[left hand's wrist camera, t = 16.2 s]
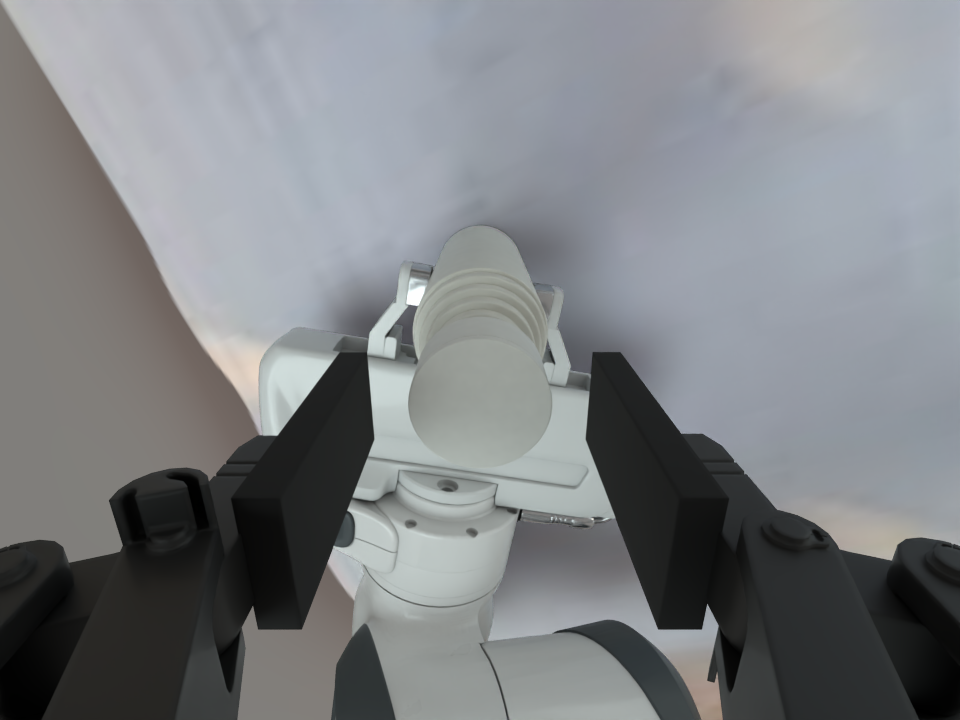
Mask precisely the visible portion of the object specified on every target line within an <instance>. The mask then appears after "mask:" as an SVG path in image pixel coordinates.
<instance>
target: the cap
mask: <svg viewBox="0 0 960 720" xmlns="http://www.w3.org/2000/svg"><path fill="white" fill-rule="evenodd" d="M408 409H409V415H410V420H411V423H412V425H413V428H414V430H415V432H416V433H417V435H418V437H419V438H420V439H421V441H422V442H423V443H424V444H425V445H426V447H427V448H428V449H429V450H431V451H432V452H433V453H434V454H436V455H437V456H439V457H440V458H442V459H444V460H446V461H448V462H450V463H453V464H456V465H459V466H463V467H468V468H492V467H497V466H501V465H505V464H508V463H510V462H513V461H515V460H517V459H518V458H520V457H522V456H523V455H525V454H526V453H528V452H529V451H530V450H531V449H532V448H533V447H534V446H535V445H536V444H537V443H538V442H539V440H540V439H541V437H542V436H543V435H544V433H545V431H546V429H547V427H548V424H549V421H550V418H551V413H552V393H551V389H550V385H549V382H548V378H547V375H546V372H545V369H544V366H543V362H542V359H541V356H540V354H539V352H538V350H537V348H536V346H535V345H534V343H533V342H532V341H531V339H530V338H529V337H528V336H527V335H526V334H525V333H524V332H523V331H521V330H520V329H519V328H517V327H516V326H514V325H512V324H510V323H508V322H505V321H503V320H500V319H496V318H491V317H470V318H464V319H461V320H457V321H455V322H453V323H450V324H448V325H447V326H445V327H443V328H442V329H441V330H439V331H438V332H437V333H436V334H435V335H434V336H433V337H432V338H431V339H430V340H429V341H428V343H427V344H426V345H425V347H424V349H423V351H422V353H421V355H420V358H419V361H418V364H417V367H416V371H415V374H414V377H413V380H412V383H411V387H410V391H409V398H408Z"/></svg>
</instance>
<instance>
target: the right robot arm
mask: <svg viewBox="0 0 960 720" xmlns="http://www.w3.org/2000/svg"><path fill="white" fill-rule="evenodd" d="M432 272H433V266H431V265H426V264H420V263H415V262H410V261H404V262H403V263H402V264H401V268H400V272H399V279H398V288H397V296H396V298H395V299H394V300H393V301H392V303H391V304H390V305H389V306H388V308H387V309H386V310H385V312H384V313H383V314H382V315H381V317H380V318H379V319H378V321H377V322H376V324H375V325H374V327H373V328H372V330H371V331H370V333H369V338H365V337H359V336H353V335H346V334H340V333H334V332H328V331H321V330H315V329H309V328H302V327H297V328H293V329H292V330H290V331H289V332H287V333H286V334H285V335H283V336H282V337H281V338H279V339H278V340H277V341H276V342H275V343H274V344H273V345H272V346H271V347H270V348H269V349H268V350H267V351H266V352H265V354H264V355H263V357H262V359H261V362H260V367H259V405H260V418H261V427H262V435H278V434H279V433H280V432H281V430H282V429H283V428H284V426H285V425H286V424H287V422H288V421H289V419H290V418H291V417H292V415H293V414H294V413H295V411H296V410H297V409H298V407H299V406H300V405H301V403H302V402H303V401H304V399H305V398H306V397H307V395H308V394H309V393H310V391H311V390H312V389H313V387H314V386H315V385H316V383H317V382H318V381H319V379H320V378H321V377H322V375H323V374H324V373H325V371H326V370H327V369H328V367H329V366H330V365H331V363H332V362H333V360H334V359H335V358H336V356H337V355H338V354H339V352H367V356H368V368H369V379H370V391H371V403H372V415H373V427H374V439H375V440H374V442H373V445H372V447H371V450H370V453H369V455H368V458H367V460H366V463H365V466H364V468H363V471H362V473H361V476H360V479H359V481H358V484H357V487H356V489H355V492H354V494H353V497H352V500H351V502H350V505H349V507H348V510H347V513H346V515H345V518H344V520H343V523H342V526H341V528H340V531H339V534H338V536H337V539H336V541H335V544H334V547H333V549H336V550H338V551H340V552H342V553H344V554H346V555H348V556H350V557H351V558H353V559H355V560H357V561H358V562H360V563H361V564H362V568H363V572H364V576H363V578H362V580H361V582H360V584H359V586H358V589H357V593H356V596H355V603H354V613H353V626H352V638H351V640H350V641H349V643H348V645H347V647H346V648H345V650H344V652H343V654H342V656H341V658H340V659H339V661H338V663H337V666H336V677H335V691H334V700H333V708H332V717H331V720H701V718H700V715H699V712H698V710H697V707H696V705H695V703H694V700H693V698H692V696H691V694H690V692H689V690H688V688H687V686H686V684H685V682H684V681H683V679H682V677H681V676H680V674H679V673H678V671H677V670H676V668H675V667H674V666H673V665H672V663H671V662H670V661H669V660H668V659H667V658H666V656H665V655H664V654H663V653H662V652H661V651H660V650H659V649H657V648H656V647H655V646H654V645H653V644H652V643H651V642H649V641H648V640H647V639H646V638H645V637H643V636H642V635H641V634H639V633H638V632H637V631H635V630H634V629H633V628H631V627H629V626H628V625H626V624H624V623H621V622H619V621H615V620H603V621H599V622H594V623H590V624H586V625H581V626H577V627H572V628H568V629H564V630H559V631H556V632H554V633H552V634H545V635H537V636H528V637H520V638H512V639H503V640H495V641H488V638H489V635H490V631H491V627H492V622H493V614H494V605H493V594H494V593H495V591H496V590H497V588H498V586H499V585H500V583H501V581H502V578H503V576H504V573H505V569H506V564H507V560H508V556H509V552H510V548H511V544H512V540H513V536H514V532H515V527H516V523H517V522H518V520H519V521H526V522H533V523H540V524H559V525H562V524H563V525H566V526H569V527H571V528H576V529H592V528H593V526H594V524H600V523H604V522H607V521H610V520H611V519H615V515H614V513H613V510H612V507H611V505H610V502H609V500H608V497H607V494H606V492H605V489H604V487H603V484H602V481H601V479H600V476H599V473H598V471H597V468H596V466H595V463H594V460H593V458H592V455H591V453H590V450H589V447H588V445H587V442H586V440H585V439H586V427H587V415H588V403H589V391H590V379H591V374H590V373H583V372H577V371H571V370H570V367H571V365H570V361H569V358H568V355H567V352H566V349H565V346H564V343H563V340H562V337H561V334H560V331H559V328H558V322H559V318H560V313H561V309H562V305H563V300H564V292H563V290H562V289H561V287H556V286H551V285H544V284H538V283H533V286H534V288H535V290H536V293H537V295H538V297H539V300H540V302H541V304H542V307H543V309H544V311H545V315H546V319H547V325H548V339H547V340H548V343H549V346H550V351H549V350H548V349H545V353H544V356H543V359H542V362H543V366H544V369H545V372H546V375H547V378H548V382H549V385H550V389H551V393H552V413H551V418H550V421H549V424H548V427H547V429H546V431H545V433H544V435H543V436H542V437H541V439H540V440H539V442H538V443H537V444H536V445H535V446H534V447H533V448H532V449H531V450H530V451H529V452H528V453H526V454H525V455H523V456H522V457H520V458H518V459H517V460H515V461H513V462H510V463H508V464H505V465H501V466H497V467H492V468H468V467H463V466H459V465H456V464H453V463H450V462H448V461H446V460H444V459H442V458H440V457H439V456H437V455H436V454H434V453H433V452H432V451H431V450H429V449H428V448H427V447H426V445H425V444H424V443H423V442H422V441H421V439H420V438H419V437H418V435H417V433H416V432H415V430H414V428H413V425H412V423H411V420H410V415H409V409H408V398H409V391H410V387H411V383H412V380H413V377H414V374H415V371H416V367H417V364H418V358H417V355H416V351H415V347H414V345H409V344H403V343H401V340H402V331H403V327H402V326H401V325H397V324H395V323H396V321H397V320H398V319H399V317H400V316H401V315H402V314H403V312H404V311H405V310H406V309H407V307H408V306H409V305H414V306H418V305H419V303H420V300H421V298H422V296H423V293H424V291H425V289H426V286H427V284H428V282H429V279H430V277H431V275H432Z"/></svg>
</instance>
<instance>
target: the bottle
mask: <svg viewBox="0 0 960 720" xmlns="http://www.w3.org/2000/svg"><path fill="white" fill-rule="evenodd" d="M470 317H491V318H496V319H500V320H503V321H505V322H508V323H510V324H512V325H514V326H516V327H517V328H519V329H520V330H521V331H523V332H524V333H525V334H526V335H527V336H528V337H529V338H530V339H531V341H532V342H533V343H534V345H535V346H536V348H537V350H538V352H539V354H540V356H541V359H543V356H544V353H545V348H546V345H547V339H548V325H547V319H546V315H545V311H544V309H543V307H542V304H541V302H540V300H539V297H538V295H537V293H536V290H535V288H534V286H533V283H532V281H531V279H530V276H529V274H528V272H527V269H526V267H525V265H524V262H523V260H522V258H521V255H520V253H519V251H518V248H517V247H516V245H515V243H514V242H513V241H512V239H511V238H510V237H509V236H507V235H506V234H505V233H504V232H502V231H500V230H498V229H496V228H493V227H490V226H483V225H476V226H470V227H467V228H464V229H462V230H460V231H459V232H457V233H455V234H454V235H453V236H452V237H451V238H450V239H449V240H448V241H447V243H446V244H445V245H444V247H443V249H442V252H441V254H440V256H439V258H438V261H437V263H436V265H435V268H434V270H433V272H432V275H431V277H430V279H429V282H428V284H427V286H426V289H425V291H424V293H423V296H422V298H421V300H420V303H419V305H418V307H417V310H416V313H415V317H414V321H413V342H414V347H415V351H416V355H417V358H418V361H419V358H420V355H421V353H422V351H423V349H424V347H425V345H426V344H427V343H428V341H429V340H430V339H431V338H432V337H433V336H434V335H435V334H436V333H437V332H438V331H439V330H441V329H442V328H443V327H445V326H447V325H448V324H450V323H453V322H455V321H457V320H461V319H464V318H470Z"/></svg>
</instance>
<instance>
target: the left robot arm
mask: <svg viewBox="0 0 960 720" xmlns="http://www.w3.org/2000/svg"><path fill="white" fill-rule="evenodd" d="M374 440H375V439H374V427H373V415H372V403H371V391H370V379H369V368H368V356H367V352H339V354H338V355H337V356H336V358H335V359H334V360H333V362H332V363H331V365H330V366H329V367H328V369H327V370H326V371H325V373H324V374H323V375H322V377H321V378H320V379H319V381H318V382H317V383H316V385H315V386H314V387H313V389H312V390H311V391H310V393H309V394H308V395H307V397H306V398H305V399H304V401H303V402H302V403H301V405H300V406H299V407H298V409H297V410H296V411H295V413H294V414H293V415H292V417H291V418H290V419H289V421H288V422H287V424H286V425H285V426H284V428H283V429H282V430H281V432H280V433H279V434H278V435H258V436H256V437H255V438H253V439H251V440H250V441H248V442H247V443H245V444H243V445H242V446H240V447H239V448H238V449H237V450H236V451H235V452H234V453H233V454H232V456H231V457H230V458H229V459H228V460H227V462H226V464H224V465H223V466H222V467H221V469H220V470H219V471H218V472H217V473H216V476H214V477H213V478H212V479H211V480H210V481H208V476H207V475H206V474H204V473H203V472H202V471H200V470H196V469H191V468H174V469H167V470H163V471H158V472H154V473H151V474H148V475H146V476H143V477H141V478H138V479H136V480H133V481H132V482H130V483H129V484H127V485H125V486H124V487H122V488H121V489H119V490H118V491H117V492H116V493H115V494H114V495H113V496H112V498H111V499H110V500H109V502H110V505H111V509H112V512H113V515H114V518H115V521H116V525H117V528H118V531H119V534H120V537H121V541H122V544H123V547H122V549H121V551H120V552H118V553H114V554H110V555H105V556H100V557H95V558H90V559H86V560H81V561H76V562H71V563H69V562H68V559H67V557H66V554H65V551H64V548H63V547H62V546H61V545H59V544H58V543H56V542H55V541H46V540H36V541H29V542H23V543H18V544H14V545H10V546H9V547H4V548H2V549H0V720H237V717H238V708H239V699H240V691H241V682H242V673H243V665H244V656H245V642H244V636H243V632H242V626H243V624H244V622H245V620H246V618H247V616H248V614H249V612H250V610H251V608H252V606H253V607H254V612H255V617H256V621H257V626H258V629H302V627H303V625H304V622H305V620H306V617H307V614H308V612H309V609H310V607H311V604H312V601H313V599H314V596H315V594H316V591H317V588H318V586H319V583H320V580H321V578H322V575H323V573H324V570H325V567H326V565H327V562H328V560H329V557H330V554H331V552H332V549H333V547H334V544H335V541H336V539H337V536H338V534H339V531H340V528H341V526H342V523H343V520H344V518H345V515H346V513H347V510H348V507H349V505H350V502H351V500H352V497H353V494H354V492H355V489H356V487H357V484H358V481H359V479H360V476H361V473H362V471H363V468H364V466H365V463H366V460H367V458H368V455H369V453H370V450H371V447H372V445H373V442H374ZM585 440H586V442H587V445H588V447H589V450H590V453H591V455H592V458H593V460H594V463H595V466H596V468H597V471H598V473H599V476H600V479H601V481H602V484H603V487H604V489H605V492H606V494H607V497H608V500H609V502H610V505H611V507H612V510H613V513H614V515H615V518H616V520H617V523H618V526H619V528H620V531H621V534H622V536H623V539H624V541H625V544H626V547H627V549H628V552H629V554H630V557H631V560H632V562H633V565H634V567H635V570H636V573H637V575H638V578H639V581H640V583H641V586H642V588H643V591H644V594H645V596H646V599H647V601H648V604H649V607H650V609H651V612H652V614H653V617H654V620H655V622H656V625H657V627H658V629H702V626H703V621H704V617H705V612H706V607H707V604H708V606H709V607H710V609H711V611H712V613H713V615H714V617H715V619H716V621H717V623H718V625H719V627H718V632H717V636H716V641H715V645H714V650H713V654H712V659H711V663H710V667H709V673H708V679H707V681H710V682H715V678H716V674H717V672H718V681H719V690H720V698H721V707H722V715H723V720H960V546H958V545H955V544H954V545H953V544H951V543H949V542H945V541H940V540H934V539H927V538H911V539H905V540H904V541H902V542H901V543H900V544H898V546H897V548H896V551H895V554H894V557H893V559H892V561H890V560H886V559H881V558H876V557H871V556H866V555H861V554H857V553H852V552H847V551H843V550H840V549H839V548H838V546H837V544H836V543H835V542H834V540H833V539H832V538H831V536H830V535H829V534H828V533H827V532H826V531H824V530H823V529H821V528H820V527H819V526H817V525H816V524H815V523H813V522H811V521H808V520H806V519H804V518H802V517H800V516H798V515H795V514H791V513H787V512H784V511H780V510H777V509H776V508H775V507H774V506H773V505H772V504H771V502H770V501H769V500H768V499H767V498H766V497H765V495H764V494H763V493H762V492H761V491H760V490H759V488H758V487H757V486H756V485H755V484H754V483H753V481H752V480H751V479H750V478H749V477H748V476H747V475H744V471H743V470H742V469H741V467H740V466H739V465H738V464H737V463H734V459H733V458H732V457H731V456H730V455H729V453H728V452H727V451H726V450H725V449H724V448H723V446H721V445H720V444H718V443H716V442H715V441H713V440H712V439H710V438H708V437H707V436H705V435H703V434H681V433H680V432H679V430H678V429H677V428H676V426H675V425H674V424H673V422H672V421H671V419H670V418H669V417H668V415H667V414H666V413H665V411H664V410H663V409H662V407H661V406H660V405H659V403H658V402H657V401H656V399H655V398H654V397H653V395H652V394H651V393H650V391H649V390H648V389H647V387H646V386H645V385H644V383H643V382H642V381H641V379H640V378H639V377H638V375H637V374H636V373H635V371H634V370H633V369H632V367H631V366H630V365H629V363H628V362H627V360H626V359H625V358H624V356H623V355H622V354H621V352H593V356H592V368H591V379H590V391H589V403H588V415H587V427H586V439H585Z"/></svg>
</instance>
